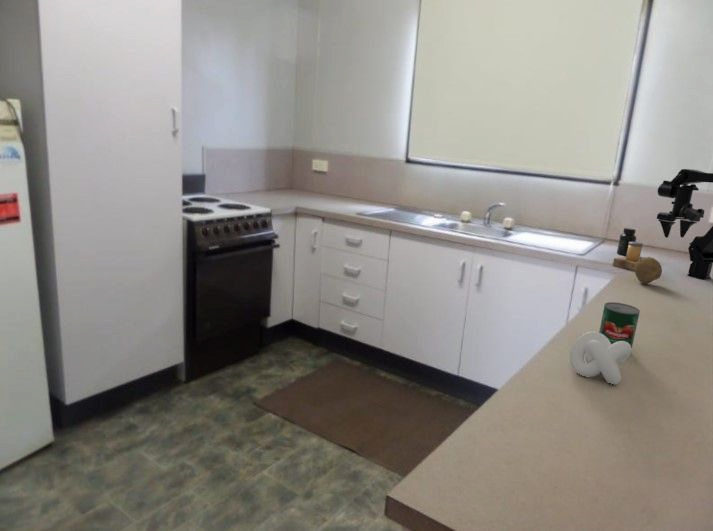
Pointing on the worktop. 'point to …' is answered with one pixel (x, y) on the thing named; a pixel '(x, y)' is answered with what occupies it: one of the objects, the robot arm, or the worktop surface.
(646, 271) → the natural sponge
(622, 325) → the canned tomato
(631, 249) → the spice jar
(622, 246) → the supplement bottle
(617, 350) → the white knot sculpture
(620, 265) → the walnut plinth
